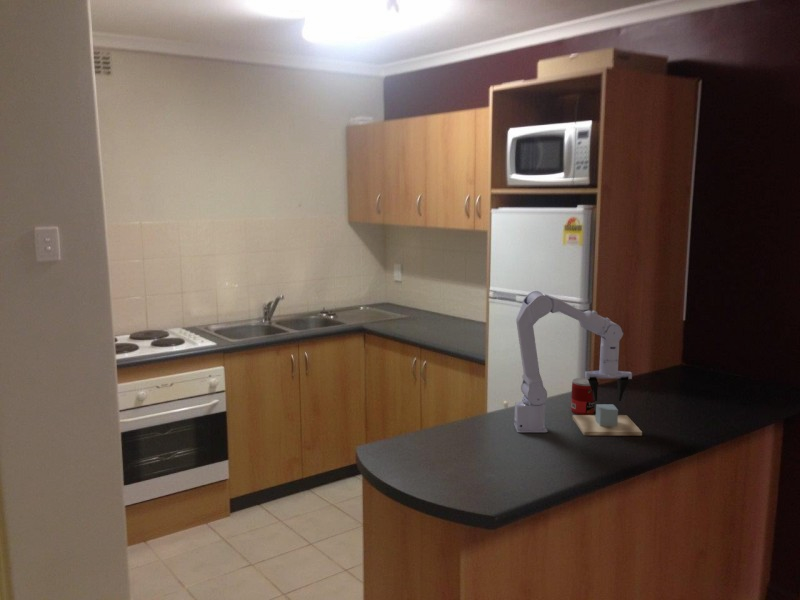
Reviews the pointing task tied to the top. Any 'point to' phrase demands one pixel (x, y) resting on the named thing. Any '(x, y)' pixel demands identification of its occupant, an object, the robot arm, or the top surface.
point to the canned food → (582, 397)
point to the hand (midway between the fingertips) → (607, 400)
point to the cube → (606, 415)
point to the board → (593, 428)
